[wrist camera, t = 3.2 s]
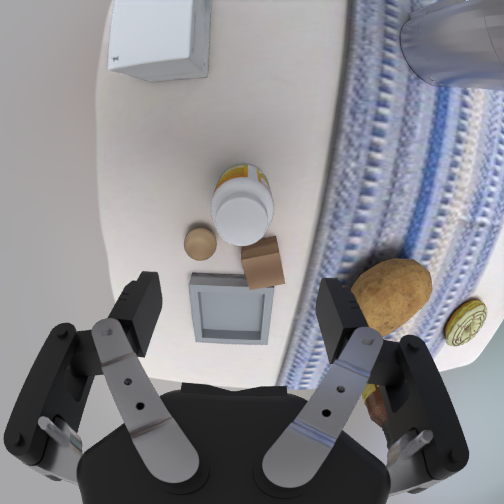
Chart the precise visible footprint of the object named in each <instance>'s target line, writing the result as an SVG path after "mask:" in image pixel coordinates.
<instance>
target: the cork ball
mask: <svg viewBox="0 0 504 504" xmlns="http://www.w3.org/2000/svg"><path fill="white" fill-rule="evenodd" d="M216 245H217V243H216V238H215V236H214V235H213V233H212V232H211V231H209V230H207V229H205V228H196V229H193V230H191V231H190V232H189V233H188V234H187V236H186V237H185V240H184V248H185V251H186V253H187V254H188V256H189V257H191V258H192V259H194V260H198V261H202V260H206V259H208V258H210V257H211V256H212V255H213V254H214V252H215V250H216Z"/></svg>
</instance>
